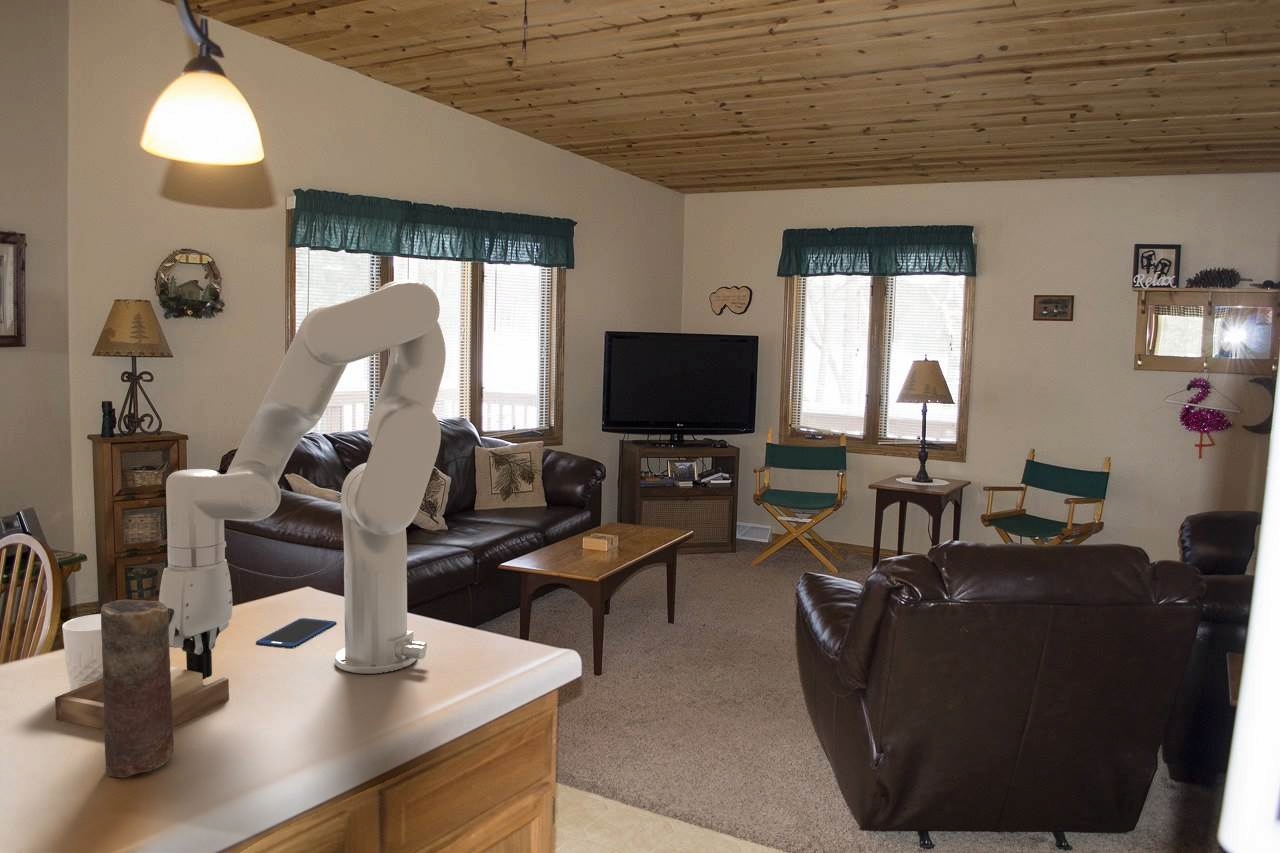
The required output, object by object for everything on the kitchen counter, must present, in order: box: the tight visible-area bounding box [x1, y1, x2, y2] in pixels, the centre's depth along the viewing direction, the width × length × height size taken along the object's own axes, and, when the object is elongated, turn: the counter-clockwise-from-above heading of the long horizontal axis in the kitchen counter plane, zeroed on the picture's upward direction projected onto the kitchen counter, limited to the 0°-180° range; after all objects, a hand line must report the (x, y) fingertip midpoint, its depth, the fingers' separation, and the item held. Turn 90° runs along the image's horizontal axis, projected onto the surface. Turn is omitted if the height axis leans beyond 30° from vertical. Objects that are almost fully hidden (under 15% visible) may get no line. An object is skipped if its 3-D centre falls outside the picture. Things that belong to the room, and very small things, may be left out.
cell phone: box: [255, 617, 338, 649], centre depth 165 cm, size 7×14×1 cm, turn 167°
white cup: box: [61, 613, 103, 692], centre depth 139 cm, size 8×8×10 cm
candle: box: [100, 599, 175, 778], centre depth 115 cm, size 8×7×20 cm
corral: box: [54, 677, 230, 730], centre depth 133 cm, size 16×14×3 cm
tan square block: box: [170, 666, 204, 701], centre depth 138 cm, size 6×6×3 cm
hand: (199, 676), depth 142 cm, fingers closed
